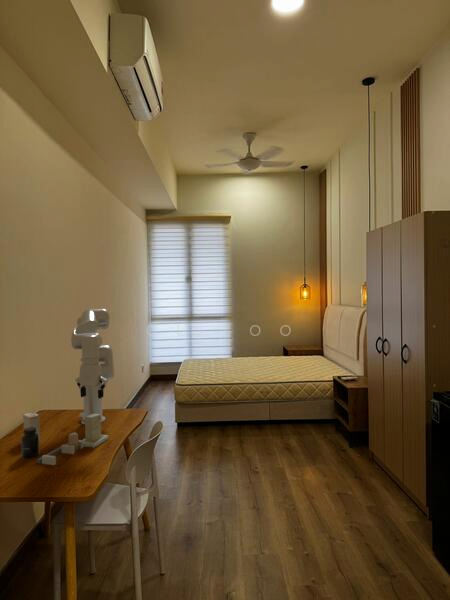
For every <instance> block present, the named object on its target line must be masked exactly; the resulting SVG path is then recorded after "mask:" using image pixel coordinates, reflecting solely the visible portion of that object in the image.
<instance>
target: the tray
mask: <svg viewBox="0 0 450 600" xmlns="http://www.w3.org/2000/svg"><path fill="white" fill-rule="evenodd" d="M81 440H82V441H83V448H93V449H95V448H97V447H98V446H99V445H101V444H103V443H105V442H106V441H107V440H109V435H107V434H101V439H100V440H98V441H96V442H95V443H90V442H86V437H85V438H83V439H81Z"/></svg>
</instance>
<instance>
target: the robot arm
mask: <svg viewBox="0 0 450 600" xmlns="http://www.w3.org/2000/svg"><path fill="white" fill-rule="evenodd" d="M110 318H111V317H110V313H109V311H108V310H107V309H105V308H91V309H86V310H84V311H83V312H82V313H81V316H79V317H78V318H77V321H76V325H77V326H75V327H74V328H73V330H72V332H71V337H70V338H71V339H70V341H71V344H70V345H71V347H72V348H73V349H74V350H81V358H80V361H81V364H80V367H79V368H80V369H79V376H78V377H77V378H75V382H76V384H77V385H76V386H78V389H79V390H80V391H79V392H80V398H83V412H80V413H79V415H78V417H79V418H82V419H81V424H82V425H85V417H86V416H89V415H91V414H94V413H95V414H101V423H103V422H105V420H106V417H105V416H104V415H103V403H102V402H103V400H102V399H103V398H104V389H105V387H107V384H108V381H111V380H112V379H113V378H114V375H115V368H114V354H113V348H112V347H111V346H110V345H108V344H107V345H106V344H105V345H104V344H103V336H102V335H101V334H100V333H99V332H97V331H99V330H107V329H108V328H109V326H110ZM102 344H103V345H102Z"/></svg>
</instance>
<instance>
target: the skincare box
mask: <svg viewBox="0 0 450 600" xmlns="http://www.w3.org/2000/svg"><path fill="white" fill-rule="evenodd" d="M84 428H85V429H84V430H85V433H84V434H85V438H86V442H90V443H95V442H96V441H98V440H100V439H101V435H102V422H101V414H95V413H94V414H91V415H89V416H86V417H85V424H84Z"/></svg>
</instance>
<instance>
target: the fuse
mask: <svg viewBox="0 0 450 600" xmlns="http://www.w3.org/2000/svg"><path fill="white" fill-rule="evenodd" d="M78 440H79V433H77V432H71V433H69V435H68V442H69V445H72V446H74V453H76V452H78V451H79V450H80V448H79V444H78Z"/></svg>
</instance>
